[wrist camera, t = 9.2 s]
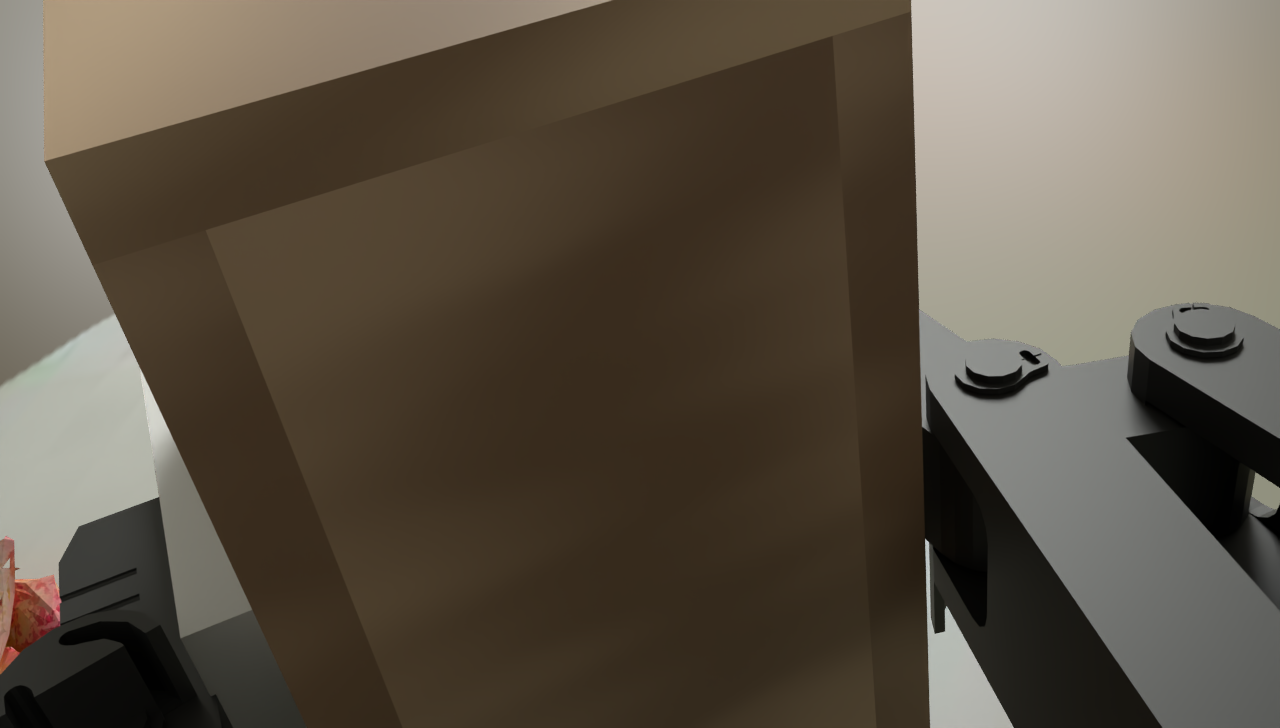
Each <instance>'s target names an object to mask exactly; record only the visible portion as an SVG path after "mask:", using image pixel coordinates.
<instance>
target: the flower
mask: <svg viewBox="0 0 1280 728" xmlns="http://www.w3.org/2000/svg"><path fill="white" fill-rule="evenodd" d="M9 558H10V568H2V567H3V566H4V565H5V563H6V562H7V561H8V559H9ZM18 569H20V568H15V563H14V540H12V539H11V538H9V537H7V536H5V538H4V539H3V540H1V541H0V674H1V673H2V672H3V671H4V670H5V669H6V668H7V667H8V666H9V665H10V664H11V662H12V661H13V660H14V659H15V658H16V657H17V656H18V655H19V654H20V653H21V652H22V651H23V650H24V649H25V648H27V647H28V646H30V645H31V644H32V643H34V642H35V641H37V640H38V639H40V638H41V637H43V636H44V635H45V634H47V633H48V632H50V631H51V630H53V629H55V628H57V627H59V626H61V625H60V603H62V602H61V599H60V597H59V588H58V586H57V584H56V583H55V579H54V575H51V576H47V577H44V578H40V579H19V580H15V570H18Z"/></svg>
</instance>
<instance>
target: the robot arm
mask: <svg viewBox="0 0 1280 728" xmlns="http://www.w3.org/2000/svg"><path fill="white" fill-rule="evenodd" d="M919 329H920V368H921V406H922V444H923V483H924V521H925V539H926V540H927V541H928V542H929V554H930V597H931V620H932V624H933V628H934V632H935V634H936V633H940V632H944V631H945V608H946V606H947V607H948V609H949V610H950V612H951V614H952V616H953V618H954V619H955V621H956V623H957V625H958V627H959V629H960V630H961V632H962V634H963V636H964V638H965V639H966V641H967V643H968V645H969V647H970V649H971V650H972V652H973V654H974V656H975V658H976V659H977V661H978V663H979V665H980V667H981V669H982V670H983V672H984V674H985V676H986V678H987V679H988V681H989V683H990V685H991V687H992V689H993V690H994V692H995V694H996V696H997V698H998V699H999V701H1000V703H1001V705H1002V707H1003V709H1004V710H1005V712H1006V714H1007V716H1008V718H1009V719H1010V721H1011V723H1012V725H1013V727H1014V728H1280V505H1279V508H1278V509H1277V510H1274V509H1272V508H1269V507H1268V506H1266V505H1264V504H1262V503H1260V502H1259V501H1258V500H1256V499H1255V498H1253V497H1252V496H1251V495H1252V489H1253V483H1254V478H1255V472H1256V473H1258V474H1259V475H1261V476H1262V477H1264V478H1266V479H1267V480H1269V481H1270V482H1272V483H1273V484H1275V485H1276V486H1278V487H1279V488H1280V329H1278V328H1276V327H1274V326H1272V325H1270V324H1268V323H1266V322H1264V321H1263V320H1261V319H1259V318H1257V317H1255V316H1252V315H1250V314H1247V313H1244V312H1241V311H1239V310H1236V309H1233V308H1231V307H1224V306H1218V305H1211V304H1208V303H1193V304H1190V303H1185V304H1176V305H1171V306H1167V307H1163V308H1159V309H1155V310H1153V311H1151V312H1150V313H1148V314H1146V315H1145V316H1143V317H1141V318H1140V319H1138V320H1137V322H1136V324H1135V326H1134V328H1133V330H1132V332H1131V338H1130V350H1129V356H1124V357H1117V358H1112V359H1105V360H1100V361H1093V362H1088V363H1082V364H1076V365H1068V366H1061V365H1060V364H1059V363H1058V361H1057V360H1055V359H1054V358H1052V357H1051V356H1050V355H1048V354H1047V353H1046V352H1044V351H1043V350H1042V349H1040V348H1036V347H1034V346H1031V345H1028V344H1025V343H1022V342H1019V341H1011V340H1001V339H984V340H975V341H965V340H964V339H962V338H961V337H959V336H958V335H956V334H955V333H953V332H952V331H951V330H949V329H948V328H946V327H945V326H943V325H942V324H940V323H939V322H937V321H936V320H934V319H933V318H931V317H930V316H928V315H927V314H925V313H924V312H923V311H921V310H920V309H919ZM139 367H140V366H139ZM140 373H141V380H142V386H143V393H144V400H145V406H146V413H147V420H148V426H149V433H150V440H151V446H152V453H153V459H154V466H155V473H156V479H157V486H158V493H159V497H158V498H155V499H153V500H150V501H147V502H144V503H142V504H139V505H136V506H134V507H131V508H128V509H125V510H123V511H120V512H117V513H115V514H112V515H109V516H106V517H104V518H101V519H98V520H96V521H93V522H90V523H87V524H85V525H82V526H79V527H78V529H77V531H76V533H75V535H74V536H73V538H72V540H71V542H70V544H69V546H68V547H67V549H66V551H65V553H64V555H63V557H62V558H61V560H60V562H59V597H60V599H61V602H62V603H60V625H61V626H59V627H57V628H55V629H53V630H51V631H50V632H48V633H47V634H45V635H44V636H43V637H41V638H40V639H38V640H37V641H35V642H34V643H32V644H31V645H30V646H28V647H27V648H25V649H24V650H23V651H22V652H21V653H20V654H19V655H18V656H17V657H16V658H15V659H14V660H13V661H12V662H11V664H10V665H9V666H8V667H7V668H6V669H5V670H4V671H3V672H2V673H1V674H0V728H307V727H306V725H305V723H304V721H303V718H302V716H301V714H300V712H299V710H298V708H297V706H296V703H295V701H294V699H293V697H292V695H291V693H290V690H289V688H288V686H287V684H286V682H285V680H284V677H283V675H282V673H281V671H280V669H279V667H278V664H277V662H276V660H275V658H274V656H273V654H272V652H271V649H270V647H269V645H268V643H267V641H266V639H265V636H264V634H263V632H262V630H261V628H260V626H259V623H258V621H257V619H256V617H255V615H254V613H253V610H252V608H251V606H250V604H249V602H248V600H247V598H246V595H245V593H244V591H243V589H242V587H241V585H240V582H239V580H238V578H237V576H236V574H235V572H234V569H233V567H232V565H231V563H230V561H229V559H228V557H227V554H226V552H225V550H224V548H223V546H222V544H221V541H220V539H219V537H218V535H217V533H216V531H215V528H214V526H213V524H212V522H211V520H210V518H209V515H208V513H207V511H206V509H205V507H204V505H203V503H202V500H201V498H200V496H199V494H198V492H197V490H196V487H195V485H194V483H193V481H192V479H191V477H190V474H189V472H188V470H187V468H186V466H185V464H184V462H183V459H182V457H181V455H180V453H179V451H178V449H177V446H176V444H175V442H174V440H173V438H172V436H171V433H170V431H169V429H168V427H167V425H166V423H165V420H164V418H163V416H162V414H161V412H160V410H159V408H158V405H157V403H156V401H155V399H154V397H153V395H152V392H151V390H150V388H149V386H148V384H147V382H146V379H145V377H144V375H143V373H142V371H141V369H140Z"/></svg>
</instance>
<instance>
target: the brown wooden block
mask: <svg viewBox="0 0 1280 728" xmlns="http://www.w3.org/2000/svg"><path fill="white" fill-rule="evenodd" d="M43 17H44V18H43V24H44V25H43V28H44V29H43V33H44V34H43V35H44V161H45V163H46V166H47V168H48V170H49V172H50V174H51V176H52V178H53V181H54V183H55V185H56V187H57V189H58V191H59V193H60V196H61V198H62V200H63V202H64V204H65V207H66V209H67V211H68V213H69V215H70V217H71V220H72V222H73V224H74V226H75V228H76V230H77V233H78V235H79V237H80V239H81V241H82V243H83V245H84V248H85V250H86V252H87V254H88V256H89V258H90V260H91V263H92V265H93V267H94V269H95V271H96V273H97V276H98V278H99V280H100V282H101V284H102V286H103V289H104V291H105V293H106V295H107V297H108V300H109V302H110V304H111V306H112V308H113V310H114V313H115V315H116V317H117V319H118V321H119V323H120V325H121V328H122V330H123V332H124V334H125V336H126V338H127V341H128V343H129V345H130V347H131V349H132V351H133V354H134V356H135V358H136V360H137V362H138V364H139V366H140V369H141V371H142V373H143V375H144V377H145V379H146V382H147V384H148V386H149V388H150V390H151V392H152V395H153V397H154V399H155V401H156V403H157V405H158V408H159V410H160V412H161V414H162V416H163V418H164V420H165V423H166V425H167V427H168V429H169V431H170V433H171V436H172V438H173V440H174V442H175V444H176V446H177V449H178V451H179V453H180V455H181V457H182V459H183V462H184V464H185V466H186V468H187V470H188V472H189V474H190V477H191V479H192V481H193V483H194V485H195V487H196V490H197V492H198V494H199V496H200V498H201V500H202V503H203V505H204V507H205V509H206V511H207V513H208V515H209V518H210V520H211V522H212V524H213V526H214V528H215V531H216V533H217V535H218V537H219V539H220V541H221V544H222V546H223V548H224V550H225V552H226V554H227V557H228V559H229V561H230V563H231V565H232V567H233V569H234V572H235V574H236V576H237V578H238V580H239V582H240V585H241V587H242V589H243V591H244V593H245V595H246V598H247V600H248V602H249V604H250V606H251V608H252V610H253V613H254V615H255V617H256V619H257V621H258V623H259V626H260V628H261V630H262V632H263V634H264V636H265V639H266V641H267V643H268V645H269V647H270V649H271V652H272V654H273V656H274V658H275V660H276V662H277V664H278V667H279V669H280V671H281V673H282V675H283V677H284V680H285V682H286V684H287V686H288V688H289V690H290V693H291V695H292V697H293V699H294V701H295V703H296V706H297V708H298V710H299V712H300V714H301V716H302V718H303V721H304V723H305V725H306V727H307V728H930V713H929V675H928V637H927V598H926V560H925V521H924V483H923V444H922V406H921V368H920V329H919V291H918V256H917V255H918V254H917V253H918V252H917V214H916V178H915V177H916V175H915V139H914V138H915V137H914V101H913V64H912V63H913V62H912V61H913V60H912V24H911V23H912V22H911V0H43Z"/></svg>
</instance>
